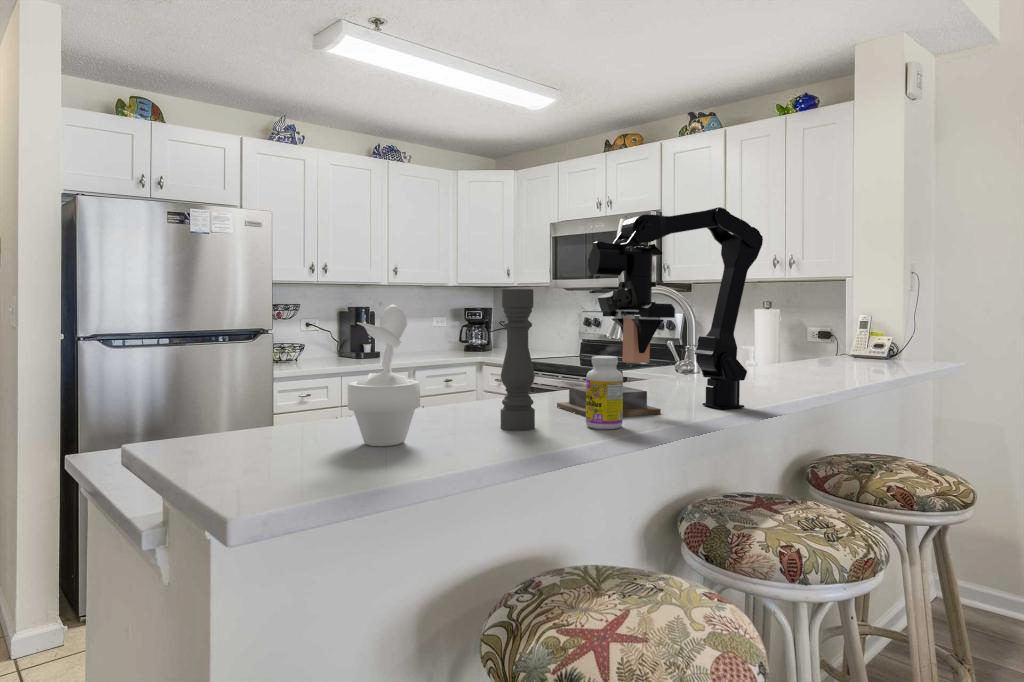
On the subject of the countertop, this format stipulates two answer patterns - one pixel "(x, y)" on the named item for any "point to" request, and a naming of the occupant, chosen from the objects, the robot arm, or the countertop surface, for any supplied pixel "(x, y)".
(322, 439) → the countertop surface
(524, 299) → the candle holder
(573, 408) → the socket
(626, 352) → the peg
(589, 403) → the supplement bottle
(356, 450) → the countertop surface
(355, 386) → the potted plant
